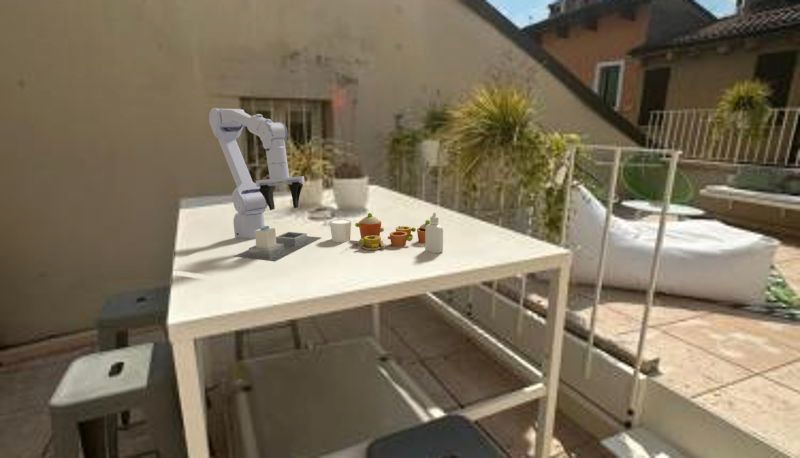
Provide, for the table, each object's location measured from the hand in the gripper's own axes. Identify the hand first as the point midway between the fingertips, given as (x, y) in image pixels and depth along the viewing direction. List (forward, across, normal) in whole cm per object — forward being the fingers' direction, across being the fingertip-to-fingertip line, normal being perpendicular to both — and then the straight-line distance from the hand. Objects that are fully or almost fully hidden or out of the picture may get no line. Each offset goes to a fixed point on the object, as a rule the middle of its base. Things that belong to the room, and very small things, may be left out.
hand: (284, 208), depth 129 cm
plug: (+12, -4, -8) cm, 14 cm away
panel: (+12, -2, -1) cm, 13 cm away
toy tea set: (+16, +31, +12) cm, 37 cm away
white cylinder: (+14, +14, +9) cm, 21 cm away
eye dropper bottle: (+17, +44, +3) cm, 47 cm away
